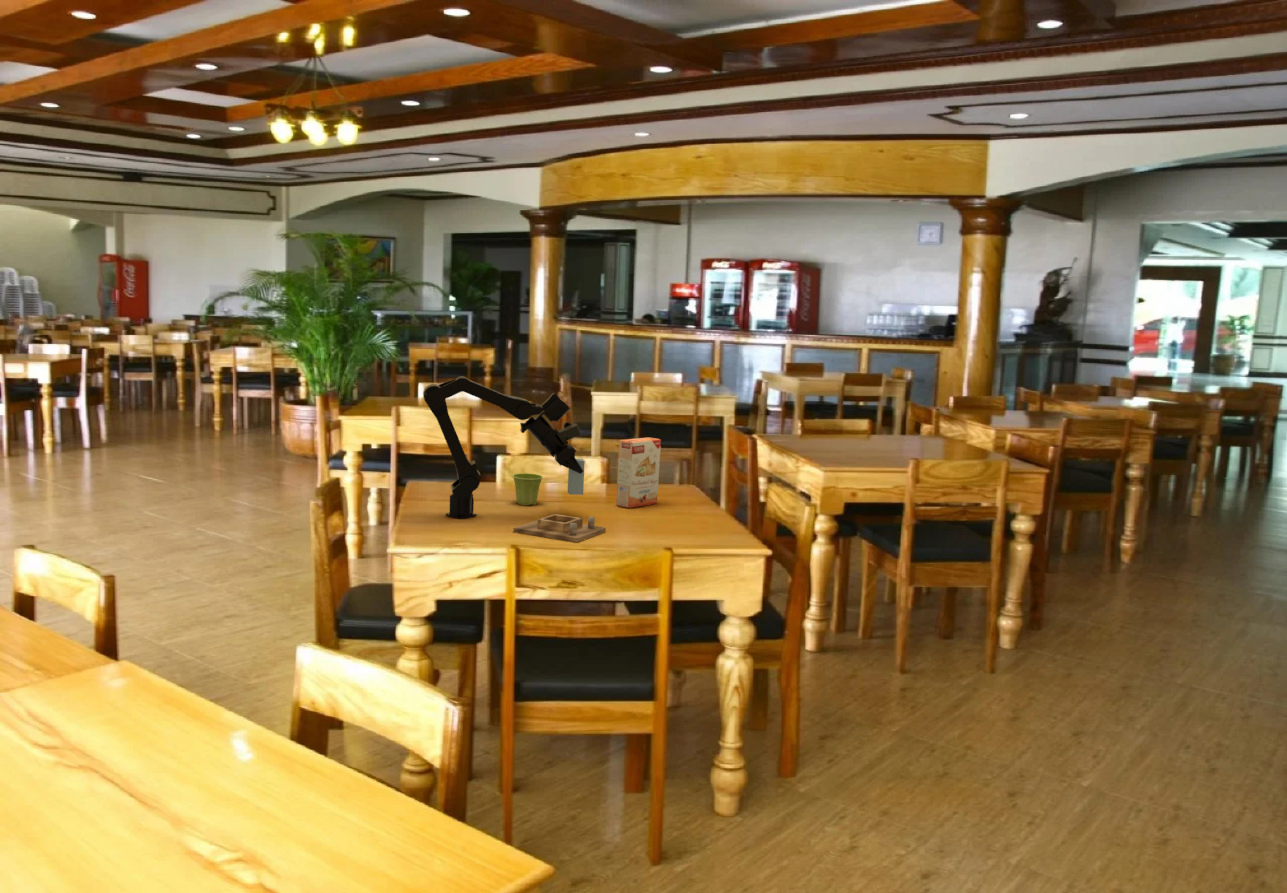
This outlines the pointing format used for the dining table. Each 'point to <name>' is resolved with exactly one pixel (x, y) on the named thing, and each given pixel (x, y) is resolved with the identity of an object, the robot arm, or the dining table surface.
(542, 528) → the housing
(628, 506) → the cracker box
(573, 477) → the pale gray block
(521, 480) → the plant pot
